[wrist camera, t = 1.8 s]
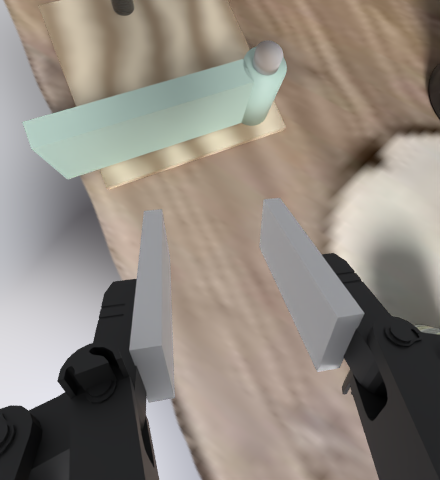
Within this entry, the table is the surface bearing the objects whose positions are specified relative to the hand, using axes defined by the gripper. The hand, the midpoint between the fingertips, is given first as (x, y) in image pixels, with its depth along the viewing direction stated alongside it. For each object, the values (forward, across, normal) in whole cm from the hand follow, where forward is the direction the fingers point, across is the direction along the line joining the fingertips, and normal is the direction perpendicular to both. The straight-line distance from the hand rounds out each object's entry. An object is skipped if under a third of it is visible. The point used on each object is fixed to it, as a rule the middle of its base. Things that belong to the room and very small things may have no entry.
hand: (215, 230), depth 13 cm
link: (+28, -2, -3) cm, 28 cm away
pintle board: (+36, -2, +3) cm, 36 cm away
